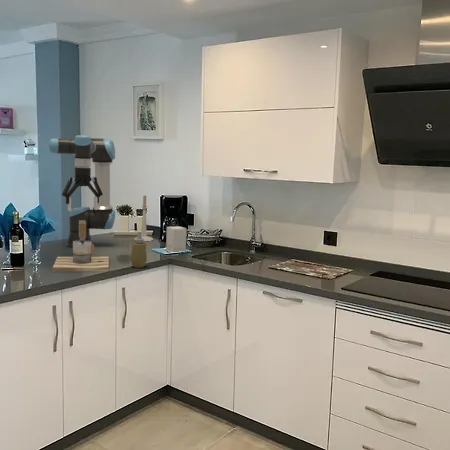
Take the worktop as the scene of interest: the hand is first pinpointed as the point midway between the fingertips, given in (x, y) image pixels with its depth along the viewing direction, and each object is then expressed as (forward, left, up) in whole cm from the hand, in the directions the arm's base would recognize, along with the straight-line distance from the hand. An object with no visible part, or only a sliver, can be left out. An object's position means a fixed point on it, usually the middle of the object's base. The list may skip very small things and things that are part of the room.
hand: (82, 210), depth 255 cm
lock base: (0, 0, -28) cm, 28 cm away
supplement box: (-34, +52, -28) cm, 68 cm away
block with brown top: (0, +1, -22) cm, 22 cm away
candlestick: (-75, +36, -28) cm, 88 cm away
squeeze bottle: (+3, +28, -28) cm, 40 cm away
